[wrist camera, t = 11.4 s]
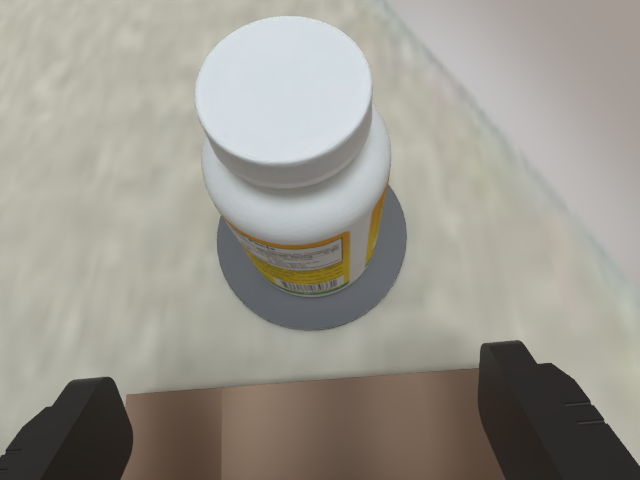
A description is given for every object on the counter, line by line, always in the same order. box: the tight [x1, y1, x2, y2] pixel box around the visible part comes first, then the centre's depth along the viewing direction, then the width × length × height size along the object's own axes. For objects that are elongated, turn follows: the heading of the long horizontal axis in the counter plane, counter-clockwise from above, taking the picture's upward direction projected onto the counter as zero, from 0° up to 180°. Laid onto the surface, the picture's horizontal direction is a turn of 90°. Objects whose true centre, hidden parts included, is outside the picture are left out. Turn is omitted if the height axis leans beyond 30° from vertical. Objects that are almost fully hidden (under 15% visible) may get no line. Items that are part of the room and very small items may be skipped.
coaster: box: [217, 185, 407, 330], centre depth 19 cm, size 8×8×1 cm
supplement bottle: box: [195, 16, 391, 297], centre depth 14 cm, size 5×5×10 cm
